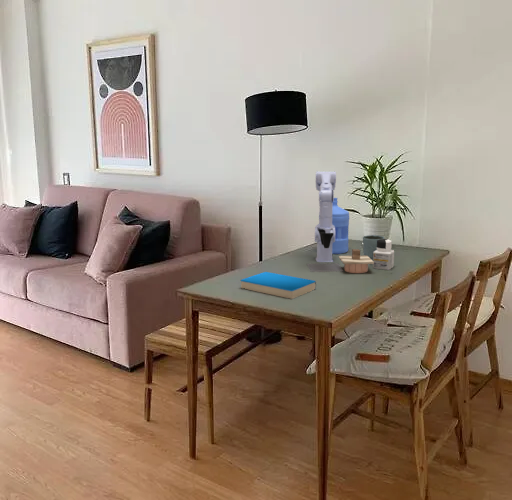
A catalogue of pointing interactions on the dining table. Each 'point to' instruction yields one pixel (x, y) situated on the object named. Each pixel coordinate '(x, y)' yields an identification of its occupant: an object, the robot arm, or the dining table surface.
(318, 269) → the mat
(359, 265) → the bowl
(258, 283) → the book
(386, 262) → the container
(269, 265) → the dining table surface
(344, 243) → the water jug
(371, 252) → the dark green cup
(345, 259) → the lid
